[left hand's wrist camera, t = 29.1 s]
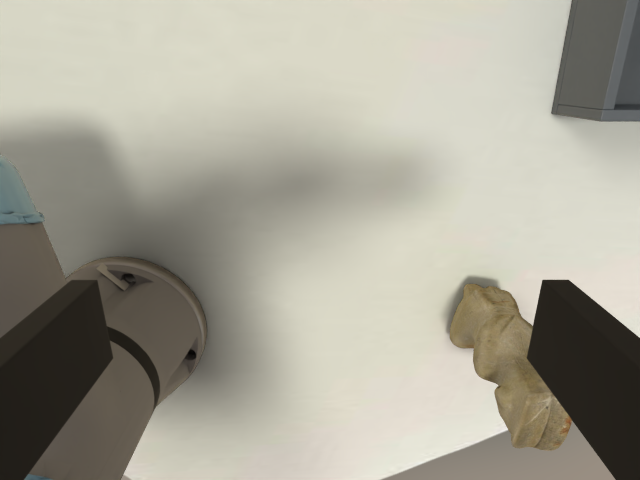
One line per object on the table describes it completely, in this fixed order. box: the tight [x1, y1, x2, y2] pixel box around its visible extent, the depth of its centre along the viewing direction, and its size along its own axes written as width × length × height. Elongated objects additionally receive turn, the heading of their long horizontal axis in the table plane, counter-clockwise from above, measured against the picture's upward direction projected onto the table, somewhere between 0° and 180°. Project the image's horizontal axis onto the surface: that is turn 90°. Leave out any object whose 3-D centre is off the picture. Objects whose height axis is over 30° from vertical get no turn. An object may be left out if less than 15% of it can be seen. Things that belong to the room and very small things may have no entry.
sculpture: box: [450, 284, 572, 451], centre depth 36 cm, size 6×7×15 cm
